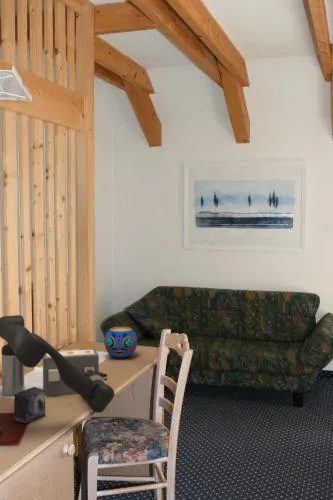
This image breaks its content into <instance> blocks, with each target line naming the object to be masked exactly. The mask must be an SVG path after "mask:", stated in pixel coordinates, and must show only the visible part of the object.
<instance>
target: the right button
mask: <svg viewBox="0 0 333 500" xmlns="http://www.w3.org/2000/svg"><path fill="white" fill-rule="evenodd" d="M88 370H92V371H93V372H95V366H85V367H84V373H86V374H87V371H88Z"/></svg>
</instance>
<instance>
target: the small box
mask: <svg viewBox="0 0 333 500" xmlns="http://www.w3.org/2000/svg"><path fill="white" fill-rule="evenodd" d="M13 399H14V400H13V401H14V403H13V406H14V408H13V409H14V412H13V413H14V415H13V416H14V418H13V420H14V419H17V420H20V421H24V422H29V423H32V422H34V421H37V420H38V419H42V418H44V417H46V396H45V390H44V389H43V388H41V387H37V386H33V387H30V388H27V389H25V390H24V391H21V392H18V393H15V394H14V396H13ZM29 423H28V424H29Z"/></svg>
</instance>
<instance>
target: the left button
mask: <svg viewBox="0 0 333 500" xmlns="http://www.w3.org/2000/svg"><path fill="white" fill-rule="evenodd" d="M48 380H49V381H59V372H58V369H48Z"/></svg>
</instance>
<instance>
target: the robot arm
mask: <svg viewBox="0 0 333 500" xmlns="http://www.w3.org/2000/svg"><path fill="white" fill-rule="evenodd" d="M24 319H25V318H24V317H23V316H22V315H21V314H20V315H19V314H15V315H4V316H0V338H1V339H2V340H4V341H5V342H6V344H5V345H3V346H2V347H1V352H0V353H1V395H2V396H9V397H10V396H11V397H14V394H15V393H18V392H21V391H24V390H26V389H25V386H26V385H25V367H26V368H30V369H31V368H33V369H34V368H35V367H36V366H37V365H38V364H39V363H40V362H41V361H42V360H43V357H44V355H45V354H46V353H47V354H48V355H50V356H51V358H52V359H53V360H54V362H55V364H56V366H57V369H58V372H59V374H60V377H61V379H62V381H63V382H64V383H65V384H66V385H67V386H68V387H69V388H71V389H72V390H73V391H75V392H76V393H77V395H79V396H80V397H81V398H82V400H84V402H85V403H86V404H87V405H88V407H89V408H90V409H91V410H92V411H93V412H95V413H101V414H102V412H104V411H105V410H106V409H107V407H108V405H109V404H110V403H111V402H112V400H113V399H114V397H115V390H114V389H113V388H112V387H111V386H110V385H109V384H106V381H108V374H107V373H104V372H100V371H99V372H93V371H92V370H88V371H87V374H86V373H82V372H81V371H80V370H78V369H77V368H76V367H74V366H73V365H72V364H71V363H70V362H69V361H68V360H67V359H66V358H65V357H64V356H62V355H61V354H60V353H59V352H60V351H58V350H57V349H56V348H55V347H54V346H52V345H51V344H50V343H49V342H48V341H47V340H45V339H44V338H43V337H41V336H40V335H38V334H37V333H34V332H31V331H29V329H28V328H27V327H25V320H24Z"/></svg>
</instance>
